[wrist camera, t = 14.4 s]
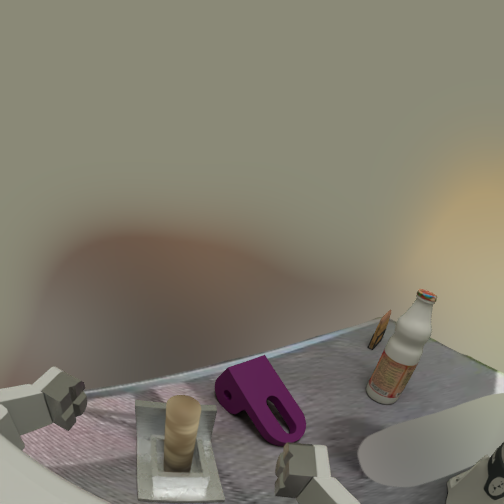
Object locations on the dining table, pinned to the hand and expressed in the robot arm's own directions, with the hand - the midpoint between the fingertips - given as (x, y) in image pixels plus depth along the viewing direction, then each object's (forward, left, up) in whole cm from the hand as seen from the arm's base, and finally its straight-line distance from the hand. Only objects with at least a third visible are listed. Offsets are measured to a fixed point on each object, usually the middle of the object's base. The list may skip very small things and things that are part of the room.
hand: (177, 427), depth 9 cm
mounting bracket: (-20, -29, -32) cm, 47 cm away
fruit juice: (-53, -30, -32) cm, 69 cm away
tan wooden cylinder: (-3, -16, -31) cm, 35 cm away
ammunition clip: (-69, -54, -32) cm, 93 cm away
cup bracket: (-3, -16, -32) cm, 36 cm away
